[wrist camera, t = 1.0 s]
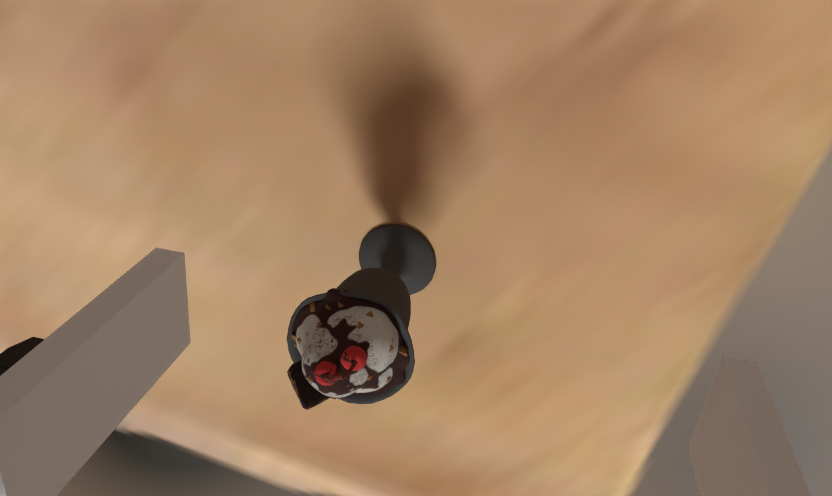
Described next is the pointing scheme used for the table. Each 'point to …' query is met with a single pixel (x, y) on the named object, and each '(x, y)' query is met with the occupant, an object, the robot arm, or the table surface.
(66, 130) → the table surface
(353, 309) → the sundae
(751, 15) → the table surface
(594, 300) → the table surface
